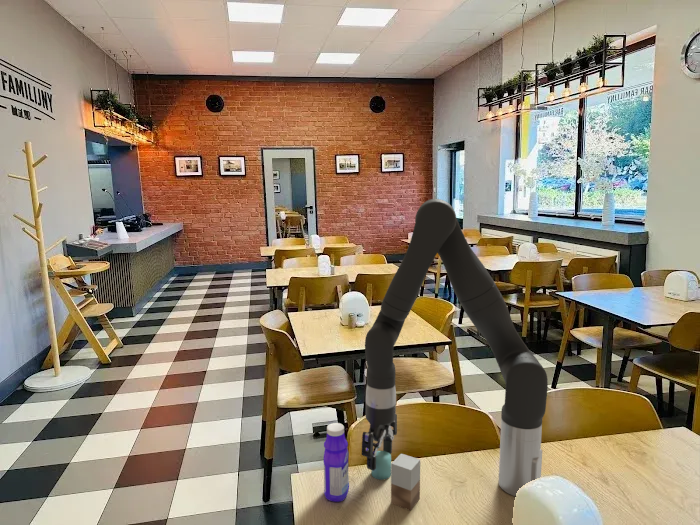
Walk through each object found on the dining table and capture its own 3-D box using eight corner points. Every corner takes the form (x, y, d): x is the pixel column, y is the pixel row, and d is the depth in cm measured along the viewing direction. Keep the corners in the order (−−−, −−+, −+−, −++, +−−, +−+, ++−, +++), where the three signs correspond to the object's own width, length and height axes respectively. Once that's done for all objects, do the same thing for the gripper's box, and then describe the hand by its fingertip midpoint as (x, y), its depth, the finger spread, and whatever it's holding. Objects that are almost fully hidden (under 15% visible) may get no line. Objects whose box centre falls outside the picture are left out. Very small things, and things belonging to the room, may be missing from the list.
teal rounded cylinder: (394, 472, 124) (394, 454, 123) (385, 482, 120) (385, 463, 119) (377, 466, 126) (377, 448, 126) (367, 475, 122) (367, 457, 122)
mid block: (420, 479, 112) (420, 459, 112) (410, 490, 108) (411, 470, 107) (400, 472, 115) (401, 453, 114) (391, 483, 111) (391, 463, 110)
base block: (419, 498, 113) (420, 479, 112) (410, 510, 109) (410, 490, 108) (400, 491, 116) (400, 472, 115) (390, 503, 112) (391, 483, 111)
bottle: (345, 505, 111) (344, 435, 108) (321, 502, 112) (319, 433, 109) (351, 486, 118) (350, 420, 115) (328, 484, 119) (327, 418, 116)
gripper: (380, 416, 112) (379, 479, 115) (406, 394, 124) (405, 452, 126) (352, 408, 116) (352, 469, 118) (381, 387, 128) (380, 444, 130)
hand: (379, 460), depth 122 cm, fingers open, 8 cm apart
